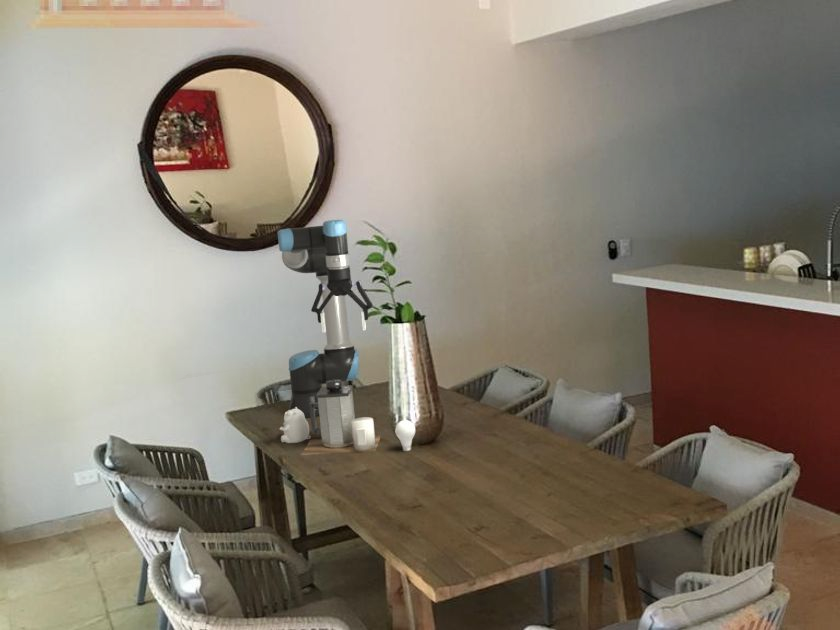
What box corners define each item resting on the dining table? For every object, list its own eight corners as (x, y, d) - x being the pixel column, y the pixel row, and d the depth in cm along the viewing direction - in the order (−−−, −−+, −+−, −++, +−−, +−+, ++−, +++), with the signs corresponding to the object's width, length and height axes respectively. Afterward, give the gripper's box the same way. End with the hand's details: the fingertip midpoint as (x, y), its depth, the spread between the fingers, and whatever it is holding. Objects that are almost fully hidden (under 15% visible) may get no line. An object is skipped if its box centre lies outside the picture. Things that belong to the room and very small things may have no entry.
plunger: (328, 431, 290) (323, 379, 287) (353, 429, 290) (348, 377, 287) (324, 438, 282) (318, 385, 279) (349, 437, 281) (344, 383, 279)
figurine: (314, 438, 300) (311, 404, 298) (308, 447, 290) (304, 412, 288) (286, 439, 301) (282, 405, 299) (279, 448, 291) (275, 413, 289)
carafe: (316, 439, 292) (311, 387, 289) (358, 437, 291) (353, 385, 288) (311, 449, 282) (305, 396, 279) (353, 447, 281) (348, 393, 278)
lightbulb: (393, 456, 273) (390, 422, 271) (403, 450, 278) (400, 417, 277) (411, 458, 270) (408, 424, 268) (421, 451, 275) (418, 418, 274)
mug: (355, 444, 283) (352, 417, 282) (376, 443, 283) (374, 416, 282) (351, 453, 275) (349, 425, 274) (373, 451, 275) (371, 424, 273)
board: (310, 444, 293) (310, 439, 293) (381, 439, 292) (380, 435, 291) (301, 459, 277) (301, 454, 277) (376, 455, 276) (375, 450, 276)
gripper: (298, 271, 282) (305, 335, 286) (374, 266, 280) (380, 331, 284) (303, 268, 290) (309, 331, 294) (377, 263, 288) (382, 326, 291)
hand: (344, 331), depth 289 cm, fingers open, 13 cm apart
